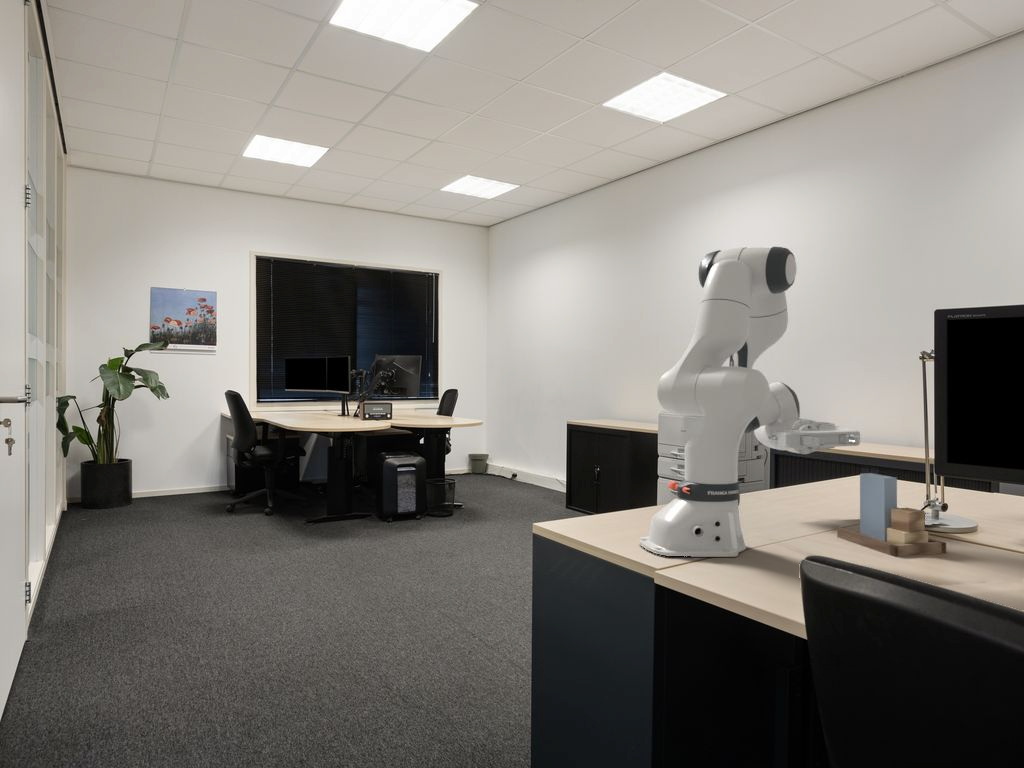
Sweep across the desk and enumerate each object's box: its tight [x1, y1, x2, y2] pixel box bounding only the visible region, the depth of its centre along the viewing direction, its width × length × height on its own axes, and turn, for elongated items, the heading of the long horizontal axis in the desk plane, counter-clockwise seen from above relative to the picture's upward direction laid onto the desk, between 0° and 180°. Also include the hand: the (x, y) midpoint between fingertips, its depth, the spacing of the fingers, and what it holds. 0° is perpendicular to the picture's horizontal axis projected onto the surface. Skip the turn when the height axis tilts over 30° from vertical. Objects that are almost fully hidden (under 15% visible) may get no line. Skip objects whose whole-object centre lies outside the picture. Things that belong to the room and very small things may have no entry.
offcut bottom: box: [887, 528, 929, 544], centre depth 130 cm, size 6×4×4 cm
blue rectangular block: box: [859, 472, 898, 542], centre depth 137 cm, size 3×7×14 cm, turn 11°
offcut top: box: [891, 507, 926, 533], centre depth 130 cm, size 4×4×4 cm
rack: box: [836, 527, 947, 557], centre depth 134 cm, size 12×16×4 cm
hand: (839, 441), depth 149 cm, fingers open, 8 cm apart
